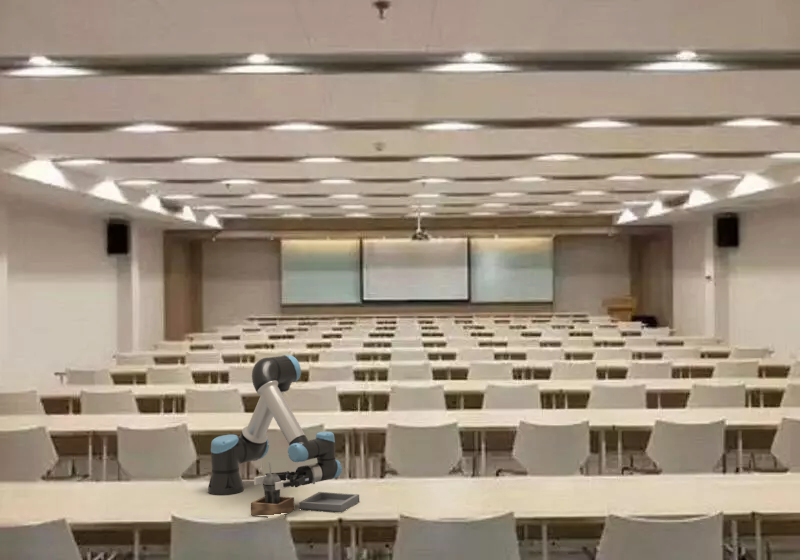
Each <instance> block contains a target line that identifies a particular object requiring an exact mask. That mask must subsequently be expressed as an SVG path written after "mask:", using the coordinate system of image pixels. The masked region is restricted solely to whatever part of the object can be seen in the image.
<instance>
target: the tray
mask: <svg viewBox="0 0 800 560" xmlns="http://www.w3.org/2000/svg"><path fill="white" fill-rule="evenodd" d="M358 503H360V494H357V493H355V494H353V493H340V492H325V491H323V492H322V491H318V492H316V493H314V494H312V495H311V496H309V497H307V498H305V499H303V500H301V501H299V502H298V504H299V505H298V508H299V509H301V510H300V511H308V510H311V512H321V511H323V512H324V513H325V512H326V513H335V512H342V511H343V512H345V511H347V510H348V509H350V508H352V507H353V506H355V505H357V504H358ZM346 509H347V510H346ZM343 512H342V513H343Z"/></svg>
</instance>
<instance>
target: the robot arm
mask: <svg viewBox="0 0 800 560" xmlns="http://www.w3.org/2000/svg"><path fill="white" fill-rule="evenodd" d="M301 368H302V367H301V365H300V362H299V360H298V359H297V357H295V356H293V355H290V354H289V355H286V354H283V355H279V356H272V357H264V358H263V357H262V358H260V359H259V360H257V362H256V363H255V364H254V366H253V368H252V370H251V380H252V385H253V388H254V389H255V392H256V394H258V395H259V399H258V401H257V404H256V406H255V408H254V410H253V413H252V415H251V418H250V420H249V423H248V425H247V426H245V427H243V428H242V430H241V433H240V435H239V436H238V435H237V434H226V435H219V436H217V437H215V438H214V439H212V440H211V444H210V454H211V455H210V457H211V460H210V461H211V476H210V479H209V482H208V486H207V492H209V493H208V494H210V493H211V495H215V496H216V495H217V496H218V495H219V496H222V495H223V496H225V495H234V494H238V493H239V494H240V493H241V492H243V491H244V490H245V487H244V486H245V485H244V482H243V479H242V476H241V474H240V464H245V463H250V462H256V461H258V460H261V459H263V458H264V457H265V456H266V455H267V454H268V452H269V449H270V445H269V442H270V441H269V438H268V437H269V436H268V434H267V432H268V430H269V427H270V425H271V423H272V421H273V418H274V420H275V422H276V424H277V425H278V427H279V429H280V430H281V433H282V435H283V436H284V438H285V440H286V442H287V443H288V445H289V446H288V449H287V453H288V458H289V459H290V461H292V462H293V463H301V462H302V463H303V462H305V461H308V460H309V461H310V460H312V459H316V463H310V464H309V463H308V464H306V465H305V464H304V465H301V466H297V468H296V469H295V471H288V470H287V471H282V472H281V471H280V472H274V473H275V474H277V475H278V476H279V478H280V480H281V482H276V483H275V490H279V489H280V490H282V489H286V488H287V489H288V488H299V487H301V486H307V485H310V484H312V485H315V484H316V483H318V482H324V481H328V480H329V481H330V480H333V479H337V478H339V477H340V476H341V474H342V472H343V467H342V465H341V464H342V463H341V462H340V460H339V459H336V440H335V434H334V433H333V432H332V431H320V432H317V433H316V434H315V439H314V438H313V439H308V437H307V435H306V434H305V433H304V430H303V429H302V427H301V425H300V423H299V422H298V420H297V418H296V416H295V414H294V413H293V411H292V409H291V408H290V405H289V404H288V402H287V400H286V399H285V397H284V393H286V392H288V391H289V390H290V387H291V385H292V383H296V382H298V381H299V379H300V377H301V374H302V369H301ZM269 473H270V472H269ZM269 473H265V475H262V476H256V477H254V478H253V479H254V480H253V484H254V486H256V485H261V484H262V485H263V480H264V477H265V476H266V475H267V474H269Z"/></svg>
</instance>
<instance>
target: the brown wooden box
mask: <svg viewBox="0 0 800 560" xmlns="http://www.w3.org/2000/svg"><path fill="white" fill-rule="evenodd" d="M293 510H294V511H295V497H291V496H280V500H279V504H270V503H266V502H265V495H263V496H262V497H259V499H257V500H254V501H252V502H250V516H251V515H274V514H281V513H288V514H290V513H291V511H292V512H294V511H293ZM289 512H290V513H289Z"/></svg>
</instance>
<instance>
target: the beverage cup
mask: <svg viewBox="0 0 800 560" xmlns="http://www.w3.org/2000/svg"><path fill="white" fill-rule="evenodd" d="M268 468H269V474H268V473H267V475H266V476H265V475H264V476H265V477H264V480H263V483H262V487H263V491H264V493H263V494H264V496H265V502H266V503H270V504H279V500H280V497H281V489H279V490H275V483H276V482H281V480H280V478H279V476H278V475H277V474H275V473H276V472H272V470H271V469H272V467H271V462H268Z"/></svg>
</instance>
